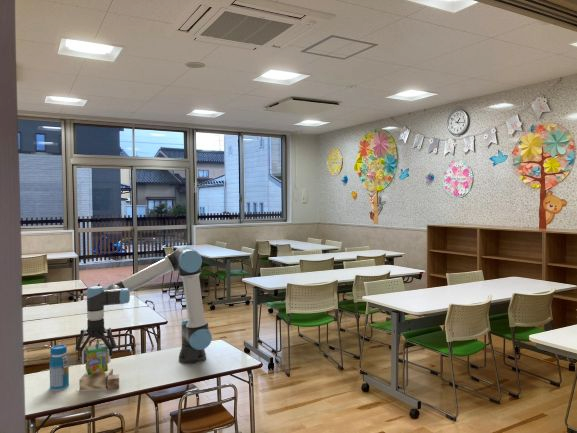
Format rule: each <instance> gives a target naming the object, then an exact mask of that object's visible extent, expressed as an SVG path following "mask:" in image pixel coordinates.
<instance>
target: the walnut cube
mask: <svg viewBox="0 0 577 433" xmlns="http://www.w3.org/2000/svg"><path fill="white" fill-rule="evenodd" d="M107 389H108V390H107V391H111V390H118V389H120V374H119V373H118V374H113V375H109V376H108V386H107Z"/></svg>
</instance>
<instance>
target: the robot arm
mask: <svg viewBox="0 0 577 433" xmlns="http://www.w3.org/2000/svg"><path fill="white" fill-rule="evenodd" d="M202 263H203V259H202V256H201V254H200V253H199V252H198V251H197V250H196V249H194V248H189V247H186V246H184V247H180V248H178V249H176V250H174V251H173V252H171V253H169V254H167V255H165V256H164V258H163V259H161V260H159V261H157V262H155V263H153V264H151V265H149V266H148V267H146V268H144V269H142V270H140V271H138V272H135V273H134V274H131V275H130V276H128V277H126V278H124V279H122V280H120V281H118V282H116V283H111V284H109V285H108V286H107V288H106V289H104V286H101V285H95V286H94V285H93V286H90V287H88V288H87V291H86V315H87V316H86V318H87V321H86V322H87V327H86V328H87V329H85V328H82V329H81V330H80V331H79V332H80V334H79V338H78V341H77V344H76V347H75V350H76V351H79V357H80V358H81V362H82V363H81V364H82V365H83V366H84V365H86V350H85V347H86V346H88V345H87V344H88V343H89V342H90V340H91V339H94V338H95V339H100V340H101V341H102V342H103V344H104V343H105V345H106V347H107V364H110V363H111V359H112V358H111V357H112V356H113V350H114V349H115V348H116V347H117V343H116V341H115V339H114V336H113V333H112V328H111V327H109V328H105V308H104V307H105V306H112V305H124V304H128V303H130V300H131V295H130V294H131V293H132V292H133V291H135V290H137V289H139V288H141V287H143V286H144V285H146V284H149V283H151V282H152V281H154V280H156V279H157V278H160V277H162V276H164V275H167V273H169V272H175V271H177V270H178V275H179V277H181V279H182V285H183V291H184V299H185V307H186V314H187V318H185V319H182V320H181V325H180V327H181V348H180V351H179V355H178V361H179V362H180V363H182V364H189V365H190V364H198V363H197V362H199V363H201V361H202V362H204V361H206V359H207V353H206V350H205V349H207V348H208V347H209V345H211V343H212V340H213V336H212V333H211V331H210V328H209V323H208V322H209V321H208V320H207V319H206V318H205V312H204V306H203V298H202V289H201V282H200V274H202V268H201V266H202ZM105 333H106V335H107V336H108V338H107V337H106V335H105ZM85 334H88V336H87V338H86V339H85V340H84V337H85ZM108 339H109V340H108ZM83 340H84V342H83ZM82 342H83V343H82ZM203 360H204V361H203Z"/></svg>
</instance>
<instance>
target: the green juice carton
mask: <svg viewBox="0 0 577 433" xmlns="http://www.w3.org/2000/svg"><path fill="white" fill-rule="evenodd" d="M96 339H97V340H96V343H95V344H92V345H91V344H90V345H86V346H85V348H84V349H85V350H86V363H85V371H86V372H87V374H88V375H90V374H95V373H100V372H106V371H108V369H109V368H108V363H107V350H108V347H107V346H106V345H105V343H104V342H103V343H100V340H99V338H96Z"/></svg>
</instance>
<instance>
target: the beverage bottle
mask: <svg viewBox="0 0 577 433" xmlns="http://www.w3.org/2000/svg"><path fill="white" fill-rule="evenodd" d="M67 348H68V347H67V345H65V344H57V345H54V346H52V347H50V355H51V357H50V359H49V362H48V363H49V367H48V370H49V390H52V391H62V390H64V389H67V388H68V387H69V386H70V379H69V377H70V376H69V375H70V374H69V373H70V372H69V368H70V364H69V357H68V355H67V350H68V349H67Z"/></svg>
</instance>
